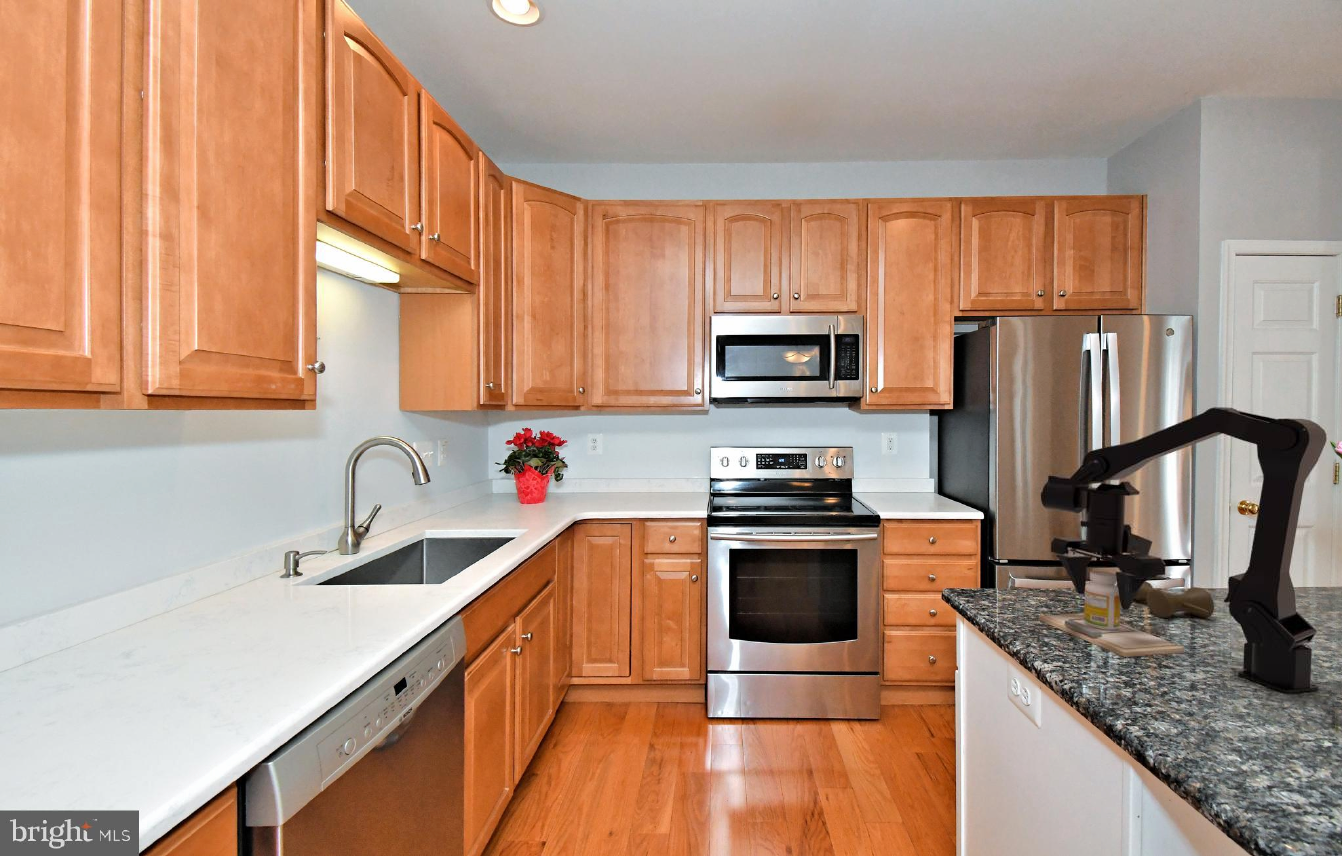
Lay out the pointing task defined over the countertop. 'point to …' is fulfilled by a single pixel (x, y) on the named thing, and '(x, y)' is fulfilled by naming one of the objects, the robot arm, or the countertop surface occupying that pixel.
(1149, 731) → the countertop surface
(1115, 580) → the supplement bottle
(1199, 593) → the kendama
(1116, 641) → the beige rectangular board
